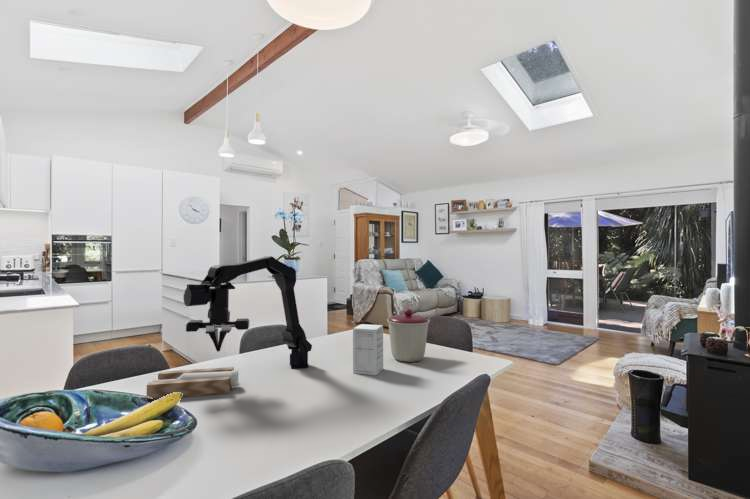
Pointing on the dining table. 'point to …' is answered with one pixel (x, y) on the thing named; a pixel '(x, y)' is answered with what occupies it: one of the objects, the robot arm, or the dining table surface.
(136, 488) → the dining table surface
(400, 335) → the canister
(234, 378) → the bottle
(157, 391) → the u rest
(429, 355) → the dining table surface
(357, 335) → the supplement box
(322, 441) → the dining table surface
